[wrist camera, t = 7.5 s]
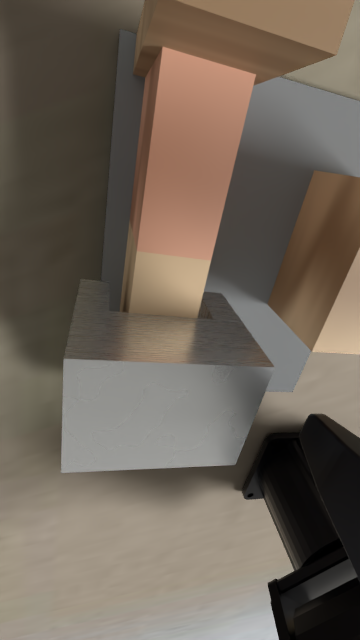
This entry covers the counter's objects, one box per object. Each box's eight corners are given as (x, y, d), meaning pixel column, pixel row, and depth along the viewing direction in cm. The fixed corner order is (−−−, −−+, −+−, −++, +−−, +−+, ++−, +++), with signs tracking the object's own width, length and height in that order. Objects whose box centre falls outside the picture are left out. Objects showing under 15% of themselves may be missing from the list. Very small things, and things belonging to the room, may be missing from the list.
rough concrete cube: (200, 372, 14) (235, 464, 10) (76, 368, 13) (61, 472, 9) (222, 293, 13) (275, 367, 9) (80, 278, 11) (63, 358, 7)
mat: (289, 387, 19) (292, 391, 19) (92, 383, 16) (92, 388, 16) (409, 119, 13) (417, 118, 12) (119, 32, 10) (119, 28, 9)
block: (274, 384, 18) (345, 492, 13) (103, 381, 16) (99, 512, 10) (389, 109, 12) (626, 85, 6) (136, 34, 10) (172, -111, 4)
